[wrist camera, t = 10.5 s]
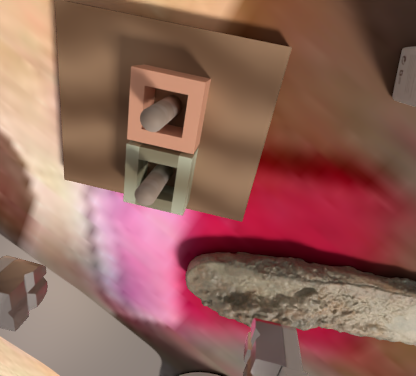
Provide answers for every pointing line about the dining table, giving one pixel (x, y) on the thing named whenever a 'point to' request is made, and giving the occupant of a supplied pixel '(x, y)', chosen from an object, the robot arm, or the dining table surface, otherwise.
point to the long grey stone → (305, 295)
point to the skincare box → (406, 77)
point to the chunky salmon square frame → (144, 97)
